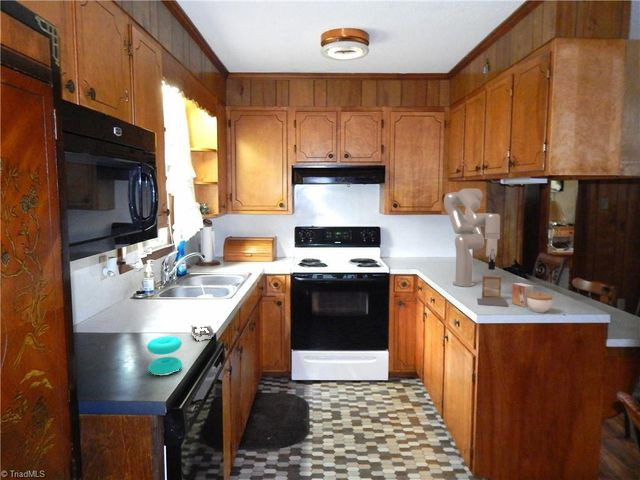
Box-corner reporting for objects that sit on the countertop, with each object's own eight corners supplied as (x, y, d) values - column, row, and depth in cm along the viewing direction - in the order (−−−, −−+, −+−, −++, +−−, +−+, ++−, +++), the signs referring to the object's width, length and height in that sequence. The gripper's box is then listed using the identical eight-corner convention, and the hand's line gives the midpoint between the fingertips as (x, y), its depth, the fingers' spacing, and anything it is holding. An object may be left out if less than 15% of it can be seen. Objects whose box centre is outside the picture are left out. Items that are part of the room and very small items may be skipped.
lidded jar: (550, 315, 196) (551, 295, 195) (525, 312, 201) (525, 292, 200) (552, 310, 205) (553, 291, 204) (527, 307, 210) (528, 288, 209)
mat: (477, 299, 227) (477, 298, 227) (505, 301, 223) (505, 300, 223) (478, 304, 216) (478, 303, 216) (508, 306, 211) (508, 305, 211)
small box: (511, 303, 218) (512, 283, 217) (520, 302, 220) (520, 282, 219) (524, 307, 211) (525, 286, 210) (532, 306, 212) (533, 285, 211)
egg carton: (190, 335, 170) (190, 325, 170) (209, 332, 174) (209, 322, 173) (194, 342, 161) (194, 332, 160) (214, 340, 164) (214, 329, 163)
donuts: (187, 335, 137) (170, 346, 127) (188, 366, 138) (172, 378, 128) (158, 334, 139) (140, 344, 129) (159, 364, 140) (141, 376, 130)
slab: (481, 297, 233) (482, 275, 232) (499, 298, 230) (500, 276, 229) (482, 299, 228) (482, 276, 227) (500, 300, 225) (501, 277, 224)
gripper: (484, 235, 243) (483, 267, 244) (485, 237, 228) (484, 271, 230) (498, 235, 240) (497, 268, 241) (500, 237, 226) (500, 271, 227)
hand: (491, 269), depth 236 cm, fingers closed
